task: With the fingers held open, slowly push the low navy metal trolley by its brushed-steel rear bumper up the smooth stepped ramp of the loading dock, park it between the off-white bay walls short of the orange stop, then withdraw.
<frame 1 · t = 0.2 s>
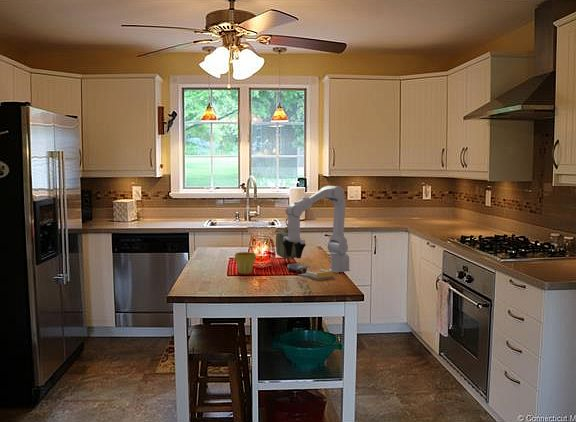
hand: (293, 257, 260), 10 cm above the kitchen island, fingers open, 7 cm apart
loading dock: (315, 276, 263), on the kitchen island
plant pot: (245, 273, 272), on the kitchen island
trolley: (297, 271, 274), on the kitchen island
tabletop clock: (287, 263, 297), on the kitchen island
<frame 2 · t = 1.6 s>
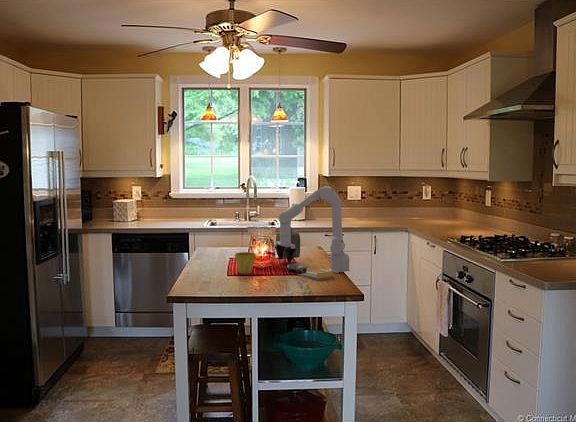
hand: (285, 260, 282), 4 cm above the kitchen island, fingers open, 7 cm apart
nothing on the kitchen island moved.
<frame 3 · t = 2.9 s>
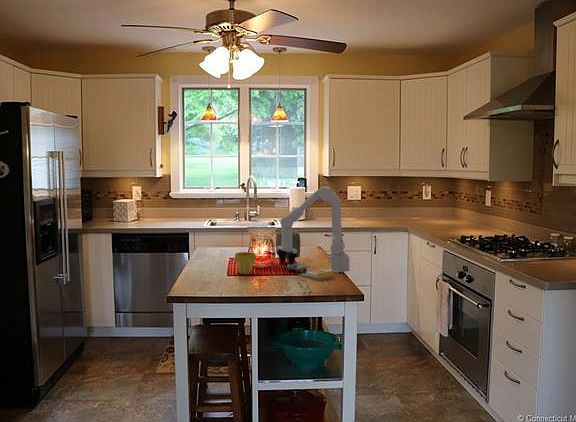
hand: (286, 265, 281), 2 cm above the kitchen island, fingers open, 7 cm apart
trolley: (297, 271, 274), on the kitchen island, touching gripper
everything else where it was.
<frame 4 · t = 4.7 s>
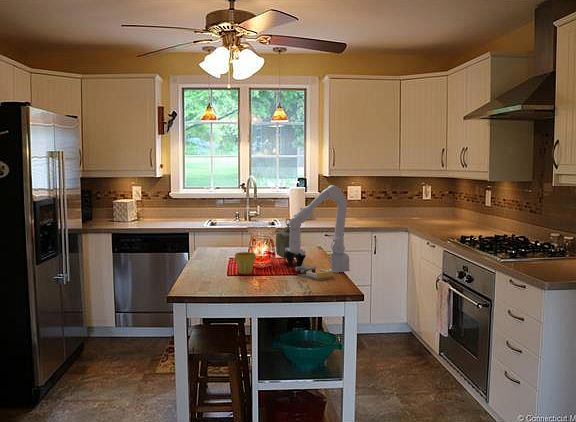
hand: (294, 267, 276), 2 cm above the kitchen island, fingers open, 7 cm apart
trolley: (306, 273, 268), on the kitchen island, tilted 7°, touching gripper, loading dock
everything else where it was.
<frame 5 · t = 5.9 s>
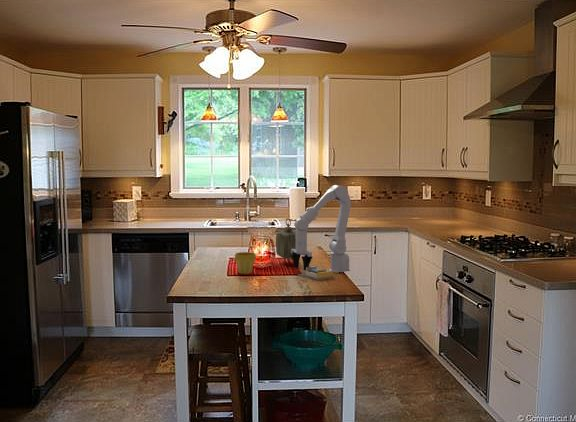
hand: (301, 268, 272), 2 cm above the kitchen island, fingers open, 7 cm apart
trolley: (316, 274, 262), point 1 cm above the kitchen island, touching loading dock
everything else where it was.
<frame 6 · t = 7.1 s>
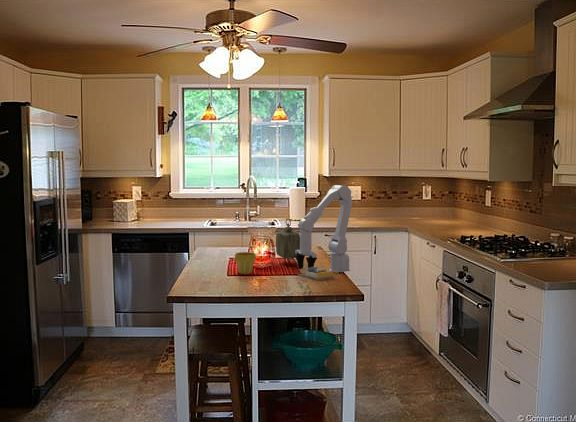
hand: (305, 269, 269), 2 cm above the kitchen island, fingers open, 7 cm apart
trolley: (317, 275, 261), point 1 cm above the kitchen island, touching gripper, loading dock
everything else where it was.
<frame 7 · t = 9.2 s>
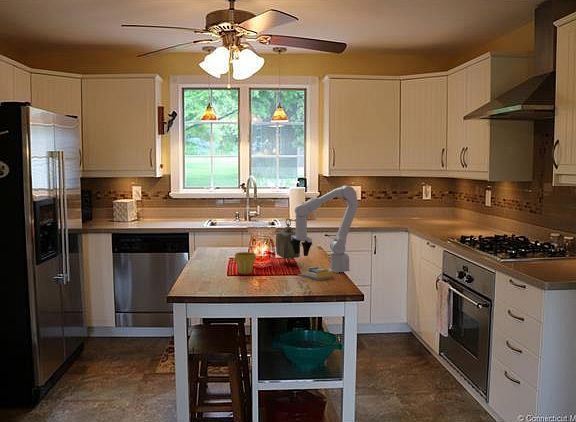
hand: (301, 254, 273), 9 cm above the kitchen island, fingers open, 7 cm apart
trolley: (317, 275, 261), point 1 cm above the kitchen island, touching loading dock
everything else where it was.
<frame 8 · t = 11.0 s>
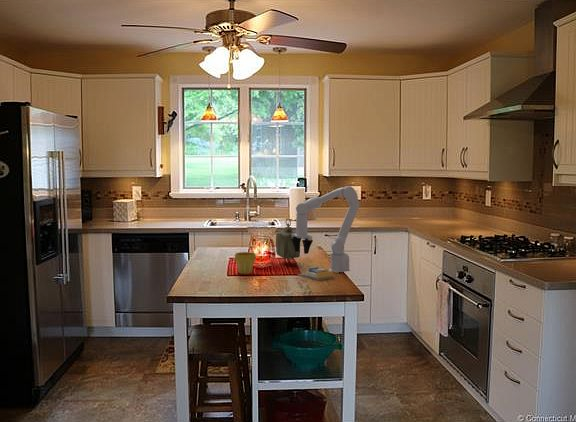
hand: (301, 252, 276), 9 cm above the kitchen island, fingers open, 7 cm apart
nothing on the kitchen island moved.
at the end: trolley 1.0 cm from the target spot on the loading dock, point 1.0 cm above the loading dock's base; trolley tilted 0°; the gripper is holding nothing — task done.
